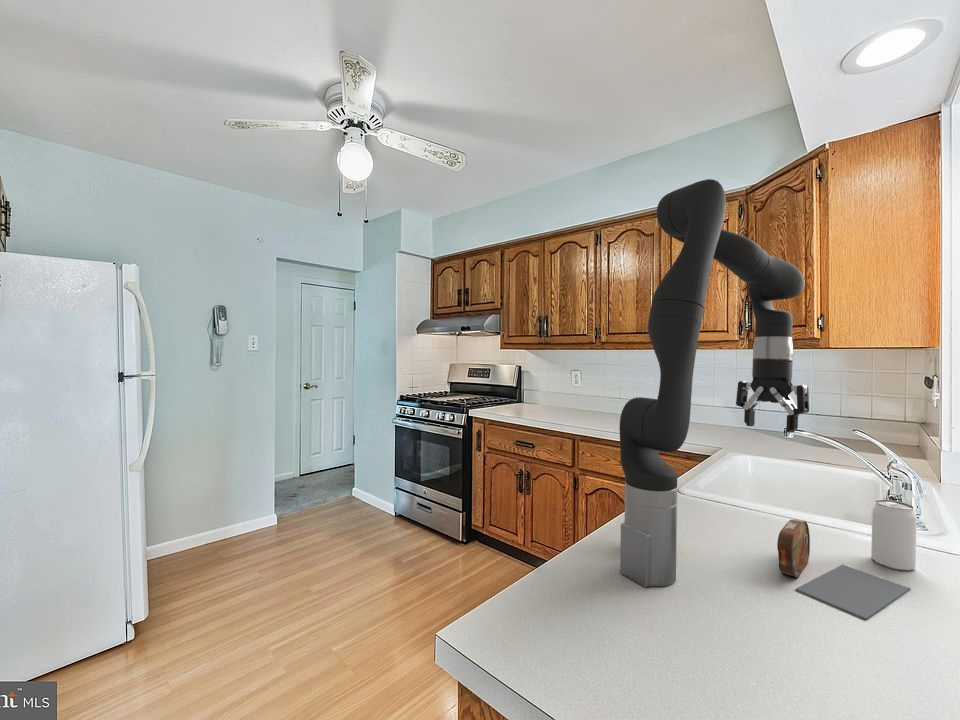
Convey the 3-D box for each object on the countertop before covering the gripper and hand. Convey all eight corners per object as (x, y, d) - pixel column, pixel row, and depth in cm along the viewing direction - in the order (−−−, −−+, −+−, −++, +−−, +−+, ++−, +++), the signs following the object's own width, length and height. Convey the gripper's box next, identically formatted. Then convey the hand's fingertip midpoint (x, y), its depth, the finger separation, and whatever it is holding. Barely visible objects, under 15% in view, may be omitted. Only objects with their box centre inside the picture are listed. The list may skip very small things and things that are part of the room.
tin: (794, 584, 81) (795, 538, 81) (774, 578, 83) (774, 533, 83) (811, 558, 91) (812, 517, 91) (792, 553, 93) (793, 513, 93)
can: (906, 560, 90) (908, 501, 90) (922, 574, 84) (923, 511, 84) (866, 553, 93) (867, 496, 93) (878, 567, 87) (879, 506, 87)
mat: (866, 620, 70) (866, 618, 70) (795, 590, 79) (795, 588, 79) (910, 589, 79) (910, 588, 79) (842, 565, 88) (842, 564, 88)
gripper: (731, 356, 105) (729, 425, 105) (799, 357, 92) (796, 435, 93) (749, 357, 108) (746, 423, 109) (816, 358, 96) (814, 433, 96)
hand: (769, 429), depth 101 cm, fingers open, 8 cm apart
